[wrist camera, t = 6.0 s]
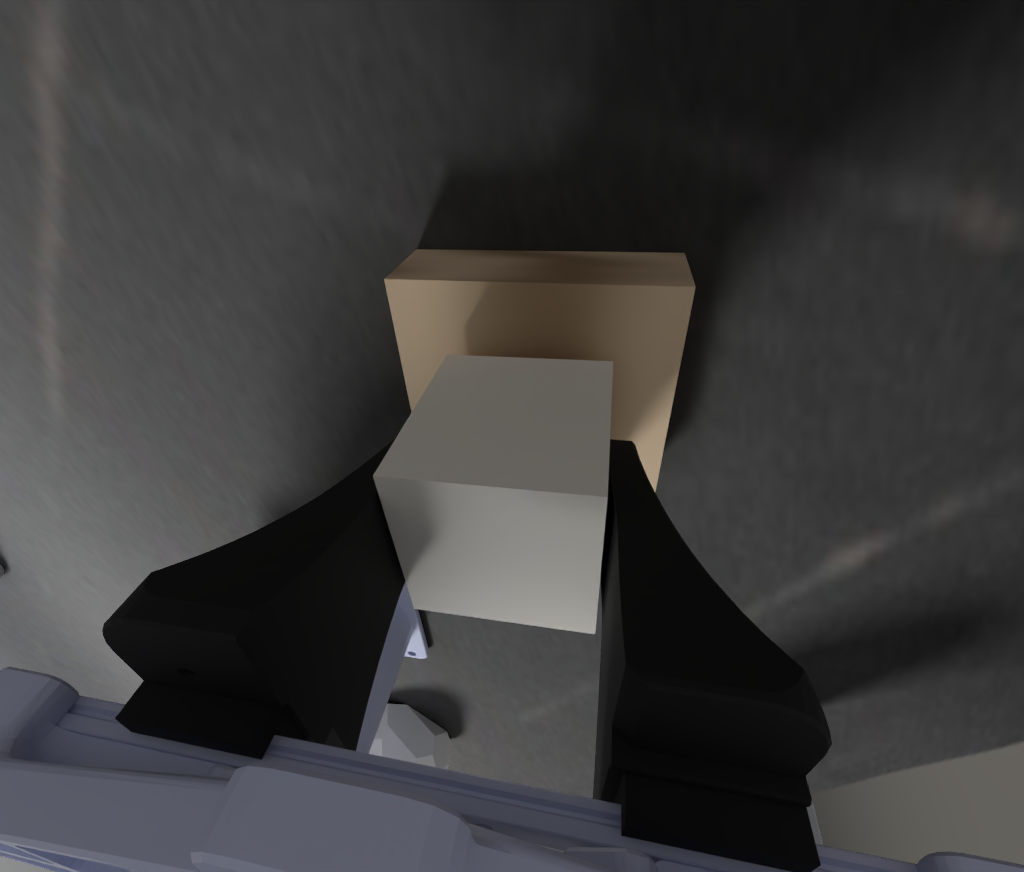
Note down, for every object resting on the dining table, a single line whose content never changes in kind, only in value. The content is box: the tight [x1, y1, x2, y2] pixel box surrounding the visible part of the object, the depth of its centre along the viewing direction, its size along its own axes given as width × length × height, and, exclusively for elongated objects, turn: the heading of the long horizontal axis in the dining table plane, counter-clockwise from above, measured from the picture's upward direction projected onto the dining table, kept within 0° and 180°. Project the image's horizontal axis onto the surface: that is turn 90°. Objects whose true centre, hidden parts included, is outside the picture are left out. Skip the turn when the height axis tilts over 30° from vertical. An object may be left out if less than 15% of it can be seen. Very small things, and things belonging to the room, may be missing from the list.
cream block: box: [373, 355, 613, 634], centre depth 12 cm, size 4×4×5 cm
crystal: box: [369, 704, 452, 769], centre depth 40 cm, size 7×7×24 cm
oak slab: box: [384, 249, 696, 491], centre depth 16 cm, size 8×8×3 cm
